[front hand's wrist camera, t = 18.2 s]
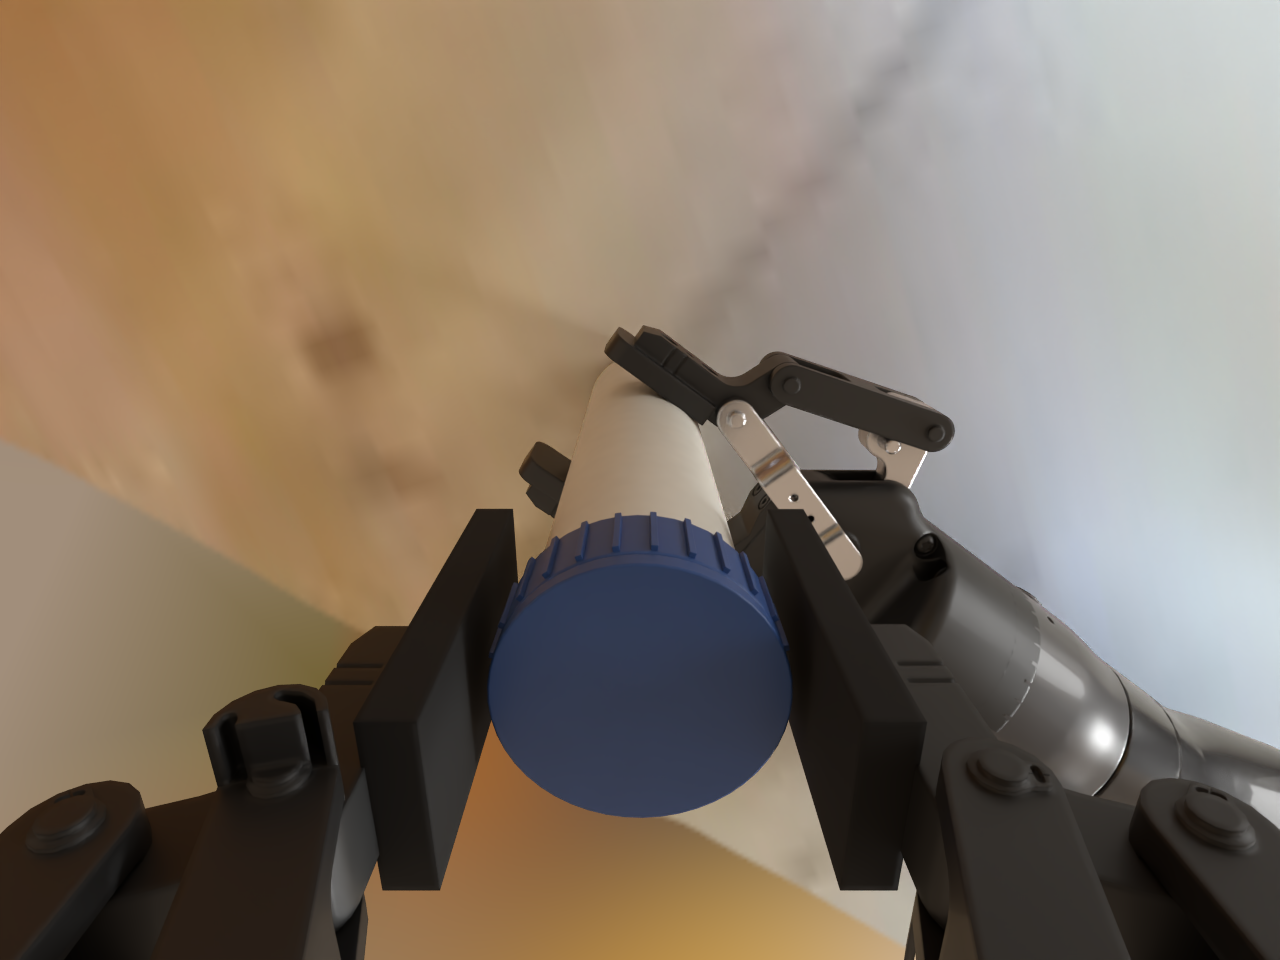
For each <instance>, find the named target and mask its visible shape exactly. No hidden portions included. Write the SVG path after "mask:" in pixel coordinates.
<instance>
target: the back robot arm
mask: <svg viewBox="0 0 1280 960" xmlns="http://www.w3.org/2000/svg"><path fill="white" fill-rule="evenodd" d="M604 352H605V353H606V355H607V356H608V357H609V358H610V359H612V360H613V361H614V362H615V363H617V364H618V365H619V366H621V367H622V368H624V369H625V370H626V371H628V372H629V373H630V374H632V375H633V376H635V377H636V378H637V379H639V380H640V381H641V382H643V383H644V384H646V385H647V386H648V387H650V388H651V389H653V390H654V391H655V392H657V393H658V394H659V395H661V396H662V397H664V398H665V399H666V400H668V401H669V402H670V403H672V404H673V405H675V406H676V407H678V408H679V409H681V410H682V411H683V412H685V413H686V414H687V415H688V416H690V417H691V418H693V419H694V420H695V421H697V422H698V423H699V424H701V425H703V424H704V423H705V422H706V420H709V421H710V422H711V423H713V424H714V425H716V426H717V427H718V428H719V430H720V431H721V433H722V434H723V435H724V437H725V438H726V439H727V441H728V442H729V443H730V444H731V446H732V447H733V448H734V450H735V451H736V452H737V454H738V455H739V456H740V457H741V459H742V460H743V461H744V463H745V464H746V465H747V467H748V468H749V469H750V471H751V472H752V473H753V475H754V477H755V478H756V480H757V481H758V483H757V484H756V485H755V487H754V488H753V489H752V490H751V491H750V493H749V495H748V497H747V499H746V502H745V504H744V506H743V508H742V510H741V511H740V513H738V514H737V515H736V516H734V517H733V518H731V519H730V520H729V521H727V524H728V527H729V531H730V534H731V538H732V541H733V544H734V548H735V550H736V551H737V552H738V553H739V554H740V553H741V552H742V551H743V552H744V553H745V554H746V555H747V558H748V561H749V564H750V566H751V568H752V569H753V571H754V572H755V573H756V575H757V576H758V577H760V576H762V575H763V560H764V546H765V532H766V517H767V509H804V511H805V513H806V514H807V516H808V518H809V519H810V521H811V523H812V525H813V526H814V528H815V530H816V532H817V533H818V535H819V537H820V538H821V540H822V542H823V544H824V545H825V547H826V549H827V550H828V552H829V554H830V556H831V557H832V559H833V561H834V562H835V564H836V566H837V568H838V569H839V571H840V573H841V575H842V576H843V578H844V580H845V581H846V583H847V585H848V587H849V588H850V590H851V592H852V593H853V595H854V597H855V599H856V600H857V602H858V604H859V606H860V607H861V609H862V611H863V612H864V614H865V616H866V618H867V619H868V621H869V623H870V624H906V625H907V626H908V627H910V628H911V629H913V630H914V631H915V632H917V633H918V634H920V635H921V636H922V637H924V638H925V639H927V640H928V641H929V642H930V643H931V645H932V646H933V647H934V649H935V650H936V652H937V653H938V655H939V656H940V657H941V659H942V660H943V664H944V666H947V667H948V669H949V670H950V672H951V673H952V675H953V676H954V677H955V682H956V683H959V685H960V686H961V687H962V689H963V690H964V692H965V693H966V695H967V696H968V697H969V699H970V700H971V702H972V703H973V705H974V706H975V707H976V709H977V710H978V712H979V713H980V715H981V716H982V717H983V719H984V720H985V722H986V723H987V725H988V726H989V727H990V729H991V730H992V732H993V733H994V735H995V736H996V737H997V739H998V740H999V741H1003V742H1006V743H1010V744H1013V745H1015V746H1017V747H1019V748H1021V749H1023V750H1025V751H1027V752H1028V753H1030V754H1032V755H1034V756H1035V757H1037V758H1038V759H1039V760H1040V761H1041V762H1043V763H1044V764H1045V765H1046V766H1047V767H1049V768H1050V769H1051V770H1052V771H1053V773H1054V774H1055V776H1056V777H1057V779H1058V780H1059V782H1060V783H1061V785H1062V786H1063V788H1065V789H1068V790H1072V791H1075V792H1078V793H1082V794H1086V795H1090V796H1095V797H1099V798H1103V799H1108V800H1112V801H1116V802H1121V803H1125V804H1129V805H1133V806H1136V804H1137V801H1138V798H1139V795H1140V792H1141V789H1142V788H1143V787H1144V786H1146V785H1147V784H1148V783H1149V782H1150V781H1152V780H1157V779H1164V778H1177V779H1184V780H1191V781H1196V782H1199V783H1202V784H1205V785H1208V786H1211V787H1214V788H1216V789H1219V790H1222V791H1224V792H1226V793H1228V794H1230V795H1232V796H1234V797H1235V798H1237V799H1239V800H1241V801H1243V802H1245V803H1246V804H1248V805H1250V806H1252V807H1253V808H1254V809H1255V810H1257V811H1258V812H1259V813H1260V814H1262V815H1263V816H1264V817H1266V818H1267V819H1268V820H1269V821H1271V822H1272V823H1273V824H1274V825H1275V826H1276V827H1277V828H1278V829H1280V750H1279V749H1277V748H1275V747H1273V746H1270V745H1268V744H1265V743H1263V742H1260V741H1257V740H1255V739H1252V738H1250V737H1247V736H1245V735H1242V734H1239V733H1237V732H1234V731H1232V730H1229V729H1226V728H1224V727H1221V726H1219V725H1216V724H1213V723H1211V722H1208V721H1206V720H1203V719H1201V718H1198V717H1194V716H1191V715H1188V714H1185V713H1181V712H1178V711H1174V710H1171V709H1168V708H1166V707H1163V706H1162V705H1161V704H1159V703H1158V702H1157V701H1156V700H1154V699H1153V698H1152V697H1151V696H1149V695H1148V694H1147V693H1146V692H1144V691H1143V690H1142V689H1140V688H1139V687H1138V686H1136V685H1135V684H1134V683H1132V682H1131V681H1130V680H1128V679H1127V678H1126V677H1124V676H1123V675H1122V674H1120V673H1119V672H1118V671H1116V670H1115V669H1114V668H1112V667H1111V666H1109V665H1108V664H1107V663H1105V662H1104V661H1103V660H1102V659H1100V658H1099V657H1098V656H1097V655H1096V654H1095V653H1094V652H1093V651H1092V650H1091V649H1090V648H1089V647H1088V646H1087V645H1086V644H1085V643H1084V642H1083V641H1082V640H1081V638H1080V637H1079V636H1078V635H1076V634H1075V633H1074V632H1073V631H1072V630H1071V629H1070V628H1069V627H1068V626H1067V625H1066V624H1064V623H1063V622H1062V621H1061V620H1059V619H1058V618H1057V617H1055V616H1054V615H1053V614H1051V613H1050V612H1049V611H1048V610H1046V609H1045V608H1044V607H1042V604H1041V603H1040V602H1039V601H1038V600H1037V599H1036V598H1035V597H1034V596H1033V595H1031V594H1030V593H1028V592H1027V591H1025V590H1023V589H1021V588H1019V587H1017V586H1014V585H1013V584H1012V583H1010V582H1009V581H1008V580H1006V579H1005V578H1004V577H1002V576H1001V575H1000V574H998V573H997V572H996V571H994V570H993V569H992V568H990V567H989V566H988V565H986V564H985V563H984V562H982V561H981V560H980V559H978V558H977V557H976V556H974V555H973V554H972V553H970V552H969V551H968V550H966V549H965V548H964V547H962V546H961V545H960V544H959V543H957V542H956V541H955V540H953V539H952V538H951V537H949V536H948V535H947V534H945V533H944V532H943V531H941V530H940V529H939V528H937V527H936V526H935V525H933V524H932V523H931V522H929V521H928V520H927V519H925V518H924V517H923V515H922V513H921V511H920V509H919V505H918V502H917V499H916V498H915V496H914V494H913V493H912V492H911V491H910V490H909V488H910V486H911V484H912V482H913V480H914V478H915V476H916V474H917V472H918V470H919V468H920V466H921V464H922V462H923V460H924V458H925V456H926V454H927V452H936V451H940V450H942V449H944V448H945V447H947V446H948V445H949V444H950V442H951V441H952V439H953V437H954V432H955V428H954V424H953V422H952V421H951V420H950V419H949V418H948V417H947V416H945V415H943V414H942V413H940V412H939V411H937V410H935V409H934V408H932V407H930V406H929V405H927V404H926V403H924V402H922V401H921V400H919V399H917V398H915V397H913V396H910V395H907V394H904V393H901V392H898V391H895V390H892V389H889V388H886V387H883V386H880V385H877V384H875V383H872V382H869V381H866V380H863V379H860V378H857V377H854V376H851V375H848V374H845V373H842V372H839V371H836V370H833V369H830V368H827V367H824V366H821V365H818V364H816V363H813V362H810V361H807V360H804V359H801V358H798V357H795V356H792V355H789V354H786V353H783V352H772V353H769V354H767V355H766V356H765V357H764V358H763V359H762V360H761V362H760V364H759V365H757V366H756V367H754V368H752V369H751V370H749V371H748V372H746V373H745V374H743V375H740V376H737V377H726V376H722V375H720V374H719V373H717V372H716V371H714V370H713V369H712V368H710V367H709V366H708V365H706V364H705V363H704V362H702V361H701V360H700V359H698V358H697V357H696V356H694V355H693V354H692V353H690V352H689V351H688V350H686V349H685V348H683V347H682V346H681V345H680V344H678V343H677V342H675V341H674V340H673V339H672V338H670V337H669V336H668V335H666V334H665V333H664V332H662V331H661V330H659V329H655V328H652V327H648V326H644V325H643V327H642V328H641V329H640V331H639V332H638V333H637V335H636V336H635V337H634V336H633V335H632V334H630V333H629V332H627V331H626V330H624V329H623V328H621V327H619V328H618V329H617V330H616V332H615V333H614V335H613V336H612V337H611V339H610V340H609V342H608V343H607V344H606V347H605V351H604ZM785 405H788V406H791V407H794V408H797V409H800V410H803V411H806V412H809V413H812V414H815V415H818V416H821V417H824V418H827V419H830V420H833V421H836V422H839V423H843V424H846V425H849V426H852V427H855V428H858V429H859V431H858V437H859V440H860V442H861V444H862V445H863V446H864V447H865V448H866V449H867V450H868V451H869V452H870V453H871V454H873V455H874V456H876V457H877V468H876V470H801V469H800V468H799V466H798V465H797V464H796V462H795V461H794V460H793V458H792V457H791V456H790V454H789V453H788V451H787V450H786V449H785V447H784V446H783V445H782V443H781V442H780V441H779V439H778V438H777V437H776V435H775V434H774V433H773V431H772V430H771V429H770V428H769V426H768V425H767V424H766V422H765V421H764V420H763V419H764V418H766V417H767V416H769V415H771V414H772V413H774V412H775V411H777V410H779V409H780V408H782V407H784V406H785ZM570 464H571V460H569V459H568V458H566V457H565V456H563V455H562V454H560V453H559V452H557V451H556V450H554V449H553V448H552V447H550V446H548V445H547V444H545V443H542V442H536V444H535V445H534V446H533V448H532V449H531V451H530V452H529V453H528V455H527V456H526V458H525V459H524V461H523V463H522V465H521V467H520V469H519V474H520V475H521V477H522V478H523V479H524V480H525V481H526V482H528V483H529V484H530V485H529V487H528V490H527V492H526V494H527V495H528V497H529V498H530V499H531V501H532V502H533V504H534V505H535V506H536V507H537V508H539V509H541V510H542V511H544V512H545V513H547V514H548V515H551V516H552V517H553V518H555V515H556V511H557V508H558V505H559V501H560V498H561V494H562V491H563V488H564V484H565V481H566V478H567V474H568V471H569V467H570Z"/></svg>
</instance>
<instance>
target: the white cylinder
mask: <svg viewBox="0 0 1280 960" xmlns="http://www.w3.org/2000/svg"><path fill="white" fill-rule="evenodd" d="M650 512H657V516H660V517H666V518H672V519H677V520H680V521H684V519H685V518H687V519H690V520H691V524H693V525H695V526H697V527H700V528H702V529H704V530H707V531H709V532H710V533H712V534H715V533H716V532H719V533H720V534H722V538H723V540H724V541H725V542H726V543H727V544H729V545H730V546H731V547H732V548H734V544H733V541H732V538H731V534H730V531H729V527H728V524H727V521H726V517H725V514H724V510H723V507H722V504H721V500H720V497H719V493H718V490H717V487H716V483H715V480H714V476H713V473H712V470H711V466H710V463H709V460H708V456H707V453H706V449H705V446H704V443H703V439H702V436H701V432H700V429H699V426H698V422H697V421H695V420H694V419H693V418H691V417H690V416H688V415H687V414H686V413H685V412H683V411H682V410H681V409H679V408H678V407H676V406H675V405H673V404H672V403H670V402H669V401H668V400H666V399H665V398H664V397H662V396H661V395H659V394H658V393H657V392H655V391H654V390H653V389H651V388H650V387H648V386H647V385H646V384H644V383H643V382H641V381H640V380H639V379H637V378H636V377H635V376H633V375H632V374H630V373H629V372H628V371H626V370H625V369H624V368H622V367H621V366H619V365H618V364H617V363H615V362H613V363H611V364H610V365H609V366H607V367H606V368H605V369H604V370H603V371H602V373H601V374H600V375H599V377H598V378H597V380H596V382H595V384H594V387H593V390H592V393H591V396H590V400H589V403H588V406H587V410H586V413H585V417H584V420H583V423H582V427H581V430H580V434H579V437H578V440H577V444H576V447H575V450H574V454H573V457H572V461H571V464H570V467H569V471H568V474H567V478H566V481H565V484H564V488H563V491H562V494H561V498H560V501H559V505H558V508H557V511H556V515H555V518H554V521H553V525H552V528H551V532H550V535H549V538H548V542H547V545H546V549H547V548H548V547H549V546H550V543H551V540H552V538H554V537H555V536H557V537H558V538H559V539H560V538H561V537H563V536H564V535H566V534H568V533H570V532H572V531H574V530H576V529H578V528H580V527H581V523H582V522H584V521H587V522H588V524H590V523H593V522H596V521H599V520H604V519H608V518H613V517H615V513H621V514H622V516H630V515H650ZM734 549H735V548H734Z"/></svg>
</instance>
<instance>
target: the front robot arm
mask: <svg viewBox="0 0 1280 960" xmlns="http://www.w3.org/2000/svg"><path fill="white" fill-rule="evenodd" d="M762 576H763V577H764V579H765V582H766V584H767V587H768V590H769V593H770V596H771V599H772V601H773V603H774V604H775V607H776V610H777V613H778V616H779V618H780V621H781V624H782V627H783V630H784V632H785V635H786V638H787V641H788V644H789V647H790V650H789V651H786V654H787V657H788V660H789V663H790V668H791V673H792V679H793V699H792V706H791V713H790V716H789V723H790V726H791V729H792V733H793V736H794V739H795V742H796V746H797V749H798V752H799V756H800V759H801V762H802V766H803V769H804V772H805V776H806V779H807V782H808V785H809V789H810V792H811V795H812V799H813V802H814V805H815V809H816V812H817V815H818V819H819V822H820V825H821V829H822V832H823V835H824V838H825V842H826V845H827V848H828V852H829V855H830V858H831V862H832V865H833V868H834V872H835V875H836V878H837V881H838V885H839V888H840V890H898V884H899V879H900V873H901V867H902V862H903V858H904V861H905V863H906V866H907V868H908V870H909V873H910V875H911V877H912V880H913V882H914V885H915V887H916V889H917V891H916V897H915V902H914V907H913V912H912V918H911V923H910V928H909V933H908V938H907V944H906V950H905V957H904V960H914V957H915V953H916V960H1280V829H1278V828H1277V827H1276V826H1275V825H1274V824H1273V823H1272V822H1271V821H1269V820H1268V819H1267V818H1266V817H1264V816H1263V815H1262V814H1260V813H1259V812H1258V811H1257V810H1255V809H1254V808H1253V807H1252V806H1250V805H1248V804H1246V803H1245V802H1243V801H1241V800H1239V799H1237V798H1235V797H1234V796H1232V795H1230V794H1228V793H1226V792H1224V791H1222V790H1219V789H1216V788H1214V787H1211V786H1208V785H1205V784H1202V783H1199V782H1196V781H1191V780H1184V779H1177V778H1164V779H1157V780H1152V781H1150V782H1149V783H1148V784H1147V785H1146V786H1144V787H1143V788H1142V789H1141V792H1140V795H1139V798H1138V801H1137V804H1136V806H1133V805H1129V804H1125V803H1121V802H1116V801H1112V800H1108V799H1103V798H1099V797H1095V796H1090V795H1086V794H1082V793H1078V792H1075V791H1072V790H1068V789H1065V788H1063V786H1062V785H1061V783H1060V782H1059V780H1058V779H1057V777H1056V776H1055V774H1054V773H1053V771H1052V770H1051V769H1050V768H1049V767H1047V766H1046V765H1045V764H1044V763H1043V762H1041V761H1040V760H1039V759H1038V758H1037V757H1035V756H1034V755H1032V754H1030V753H1028V752H1027V751H1025V750H1023V749H1021V748H1019V747H1017V746H1015V745H1013V744H1010V743H1006V742H1003V741H999V740H998V739H997V737H996V736H995V735H994V733H993V732H992V730H991V729H990V727H989V726H988V725H987V723H986V722H985V720H984V719H983V717H982V716H981V715H980V713H979V712H978V710H977V709H976V707H975V706H974V705H973V703H972V702H971V700H970V699H969V697H968V696H967V695H966V693H965V692H964V690H963V689H962V687H961V686H960V685H959V683H956V682H955V677H954V676H953V675H952V673H951V672H950V670H949V669H948V667H947V666H944V664H943V660H942V659H941V657H940V656H939V655H938V653H937V652H936V650H935V649H934V647H933V646H932V645H931V643H930V642H929V641H928V640H927V639H925V638H924V637H922V636H921V635H920V634H918V633H917V632H915V631H914V630H913V629H911V628H910V627H908V626H907V625H906V624H870V623H869V621H868V619H867V618H866V616H865V614H864V612H863V611H862V609H861V607H860V606H859V604H858V602H857V600H856V599H855V597H854V595H853V593H852V592H851V590H850V588H849V587H848V585H847V583H846V581H845V580H844V578H843V576H842V575H841V573H840V571H839V569H838V568H837V566H836V564H835V562H834V561H833V559H832V557H831V556H830V554H829V552H828V550H827V549H826V547H825V545H824V544H823V542H822V540H821V538H820V537H819V535H818V533H817V532H816V530H815V528H814V526H813V525H812V523H811V521H810V519H809V518H808V516H807V514H806V513H805V511H804V509H767V517H766V532H765V546H764V560H763V575H762ZM514 582H515V583H517V584H518V575H517V561H516V546H515V532H514V517H513V509H476V511H475V513H474V514H473V516H472V518H471V519H470V521H469V523H468V525H467V526H466V528H465V530H464V531H463V533H462V535H461V537H460V538H459V540H458V542H457V544H456V545H455V547H454V549H453V550H452V552H451V554H450V556H449V557H448V559H447V561H446V562H445V564H444V566H443V568H442V569H441V571H440V573H439V575H438V576H437V578H436V580H435V581H434V583H433V585H432V587H431V588H430V590H429V592H428V593H427V595H426V597H425V599H424V600H423V602H422V604H421V606H420V607H419V609H418V611H417V612H416V614H415V616H414V618H413V619H412V621H411V623H410V624H409V626H375V627H374V628H372V629H371V630H369V631H368V632H367V633H365V634H364V635H362V636H361V637H360V638H358V639H357V640H355V641H354V642H353V643H351V645H350V646H349V647H348V649H347V650H346V652H345V653H344V654H343V656H342V657H341V659H340V660H339V662H338V663H337V668H334V669H333V670H332V672H331V673H330V675H329V676H328V678H327V679H326V680H325V685H322V686H321V688H320V689H319V690H318V689H317V688H313V687H310V686H305V685H301V684H291V685H277V686H273V687H269V688H265V689H261V690H257V691H254V692H252V693H249V694H247V695H245V696H243V697H241V698H239V699H236V700H234V701H232V702H231V703H229V704H228V705H227V706H225V707H224V708H223V709H221V710H220V711H218V712H217V713H216V714H214V715H213V717H212V718H211V719H210V721H209V722H208V723H207V725H206V726H205V727H204V728H203V730H202V731H203V734H204V738H205V742H206V745H207V749H208V753H209V757H210V760H211V764H212V768H213V771H214V775H215V779H216V782H217V786H218V788H217V790H216V791H215V792H212V793H208V794H205V795H202V796H198V797H194V798H189V799H185V800H181V801H176V802H172V803H168V804H164V805H159V806H155V807H151V808H146V809H145V807H144V804H143V801H142V798H141V795H140V792H139V791H138V790H137V789H135V788H134V787H133V786H132V785H131V784H129V783H124V782H117V781H111V780H110V781H103V782H97V783H90V784H85V785H82V786H79V787H76V788H73V789H70V790H67V791H65V792H62V793H59V794H57V795H55V796H53V797H51V798H50V799H48V800H46V801H44V802H42V803H40V804H39V805H37V806H35V807H33V808H31V809H30V810H28V811H27V812H26V813H25V814H23V815H22V816H21V817H20V818H18V819H17V820H16V821H14V822H13V823H12V824H11V825H9V826H8V827H7V828H6V829H5V830H4V831H3V832H2V833H1V834H0V960H364V955H365V945H366V935H367V925H368V916H367V908H366V902H365V897H364V891H365V888H366V886H367V883H368V881H369V879H370V876H371V874H372V871H373V869H374V866H375V864H376V862H378V867H379V873H380V879H381V884H382V890H440V888H441V885H442V881H443V878H444V875H445V871H446V868H447V865H448V861H449V858H450V855H451V852H452V848H453V845H454V842H455V838H456V835H457V832H458V828H459V825H460V822H461V818H462V815H463V812H464V809H465V805H466V802H467V799H468V795H469V792H470V789H471V785H472V782H473V779H474V776H475V772H476V769H477V765H478V762H479V759H480V756H481V752H482V749H483V746H484V742H485V739H486V736H487V732H488V729H489V726H490V723H491V716H490V711H489V706H488V698H487V681H488V673H489V667H490V664H491V660H492V658H489V652H490V649H491V646H492V644H493V641H494V638H495V635H496V632H497V630H498V624H499V621H500V618H501V616H502V613H503V610H504V607H505V604H506V602H507V599H508V596H509V593H510V590H511V588H512V585H513V583H514Z"/></svg>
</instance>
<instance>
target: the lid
mask: <svg viewBox="0 0 1280 960" xmlns="http://www.w3.org/2000/svg"><path fill="white" fill-rule="evenodd" d="M789 650H790V647H789V644H788V641H787V638H786V635H785V632H784V630H783V627H782V624H781V621H780V618H779V616H778V613H777V610H776V607H775V604H774V603H773V601H772V599H771V596H770V593H769V590H768V587H767V584H766V582H765V579H764V577H763V576H760V577H758V576H757V575H756V573H755V572H754V571H753V569H752V568H751V566H750V564H749V561H748V558H747V555H746V554H745V553H744V552H743V551H742V552H741V553H740V554H739V553H738V552H737V551H736V550H735V549H734V548H732V547H731V546H730V545H729V544H727V543H726V542H725V541H724V540H723V538H722V534H720V533H719V532H716V533H715V534H712V533H710V532H709V531H707V530H704V529H702V528H700V527H697V526H695V525H693V524H691V520H690V519H687V518H685V519H684V521H680V520H677V519H672V518H666V517H660V516H657V512H650V515H630V516H622V514H621V513H615V517H613V518H608V519H604V520H599V521H596V522H593V523H590V524H588V522H587V521H584V522H582V523H581V527H580V528H578V529H576V530H574V531H572V532H570V533H568V534H566V535H564V536H563V537H561V538H560V539H559V538H558V537H557V536H555V537H554V538H552V540H551V543H550V546H549V547H548V548H547V549H545V550H544V551H543V552H542V553H541V554H540V555H539V556H538V557H537V558H536V559H534V558H533V557H531V558H530V559H529V560H528V563H527V566H526V569H525V572H524V575H523V577H522V578H521V580H520V582H519V584H517V583H515V582H514V583H513V585H512V588H511V590H510V593H509V596H508V599H507V602H506V604H505V607H504V610H503V613H502V616H501V618H500V621H499V624H498V630H497V632H496V635H495V638H494V641H493V644H492V646H491V649H490V652H489V658H492V660H491V664H490V667H489V673H488V681H487V698H488V706H489V711H490V716H491V720H492V723H493V726H494V728H495V731H496V734H497V736H498V738H499V740H500V742H501V744H502V746H503V747H504V749H505V751H506V752H507V753H508V755H509V756H510V758H511V759H512V760H513V762H514V763H515V764H516V765H517V766H518V767H519V768H520V769H521V770H522V771H523V773H524V774H525V775H526V776H527V777H529V778H530V779H531V780H532V781H534V782H535V783H536V784H537V785H539V786H540V787H541V788H543V789H544V790H546V791H548V792H549V793H551V794H552V795H554V796H556V797H558V798H560V799H562V800H564V801H566V802H568V803H570V804H572V805H575V806H578V807H581V808H584V809H586V810H590V811H594V812H598V813H602V814H606V815H613V816H621V817H638V818H645V817H661V816H667V815H673V814H679V813H683V812H686V811H690V810H694V809H697V808H700V807H702V806H705V805H707V804H710V803H712V802H715V801H717V800H718V799H720V798H722V797H724V796H726V795H728V794H730V793H731V792H733V791H734V790H736V789H737V788H739V787H740V786H741V785H743V784H744V783H745V782H747V781H748V780H749V779H750V778H751V777H752V776H753V775H755V774H756V773H757V772H758V771H759V770H760V768H761V767H762V766H763V765H764V764H765V763H766V762H767V761H768V759H769V758H770V756H771V755H772V753H773V752H774V750H775V749H776V747H777V746H778V744H779V742H780V740H781V738H782V736H783V734H784V732H785V729H786V726H787V723H788V719H789V716H790V713H791V706H792V699H793V679H792V673H791V668H790V663H789V660H788V657H787V654H786V651H789Z"/></svg>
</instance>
